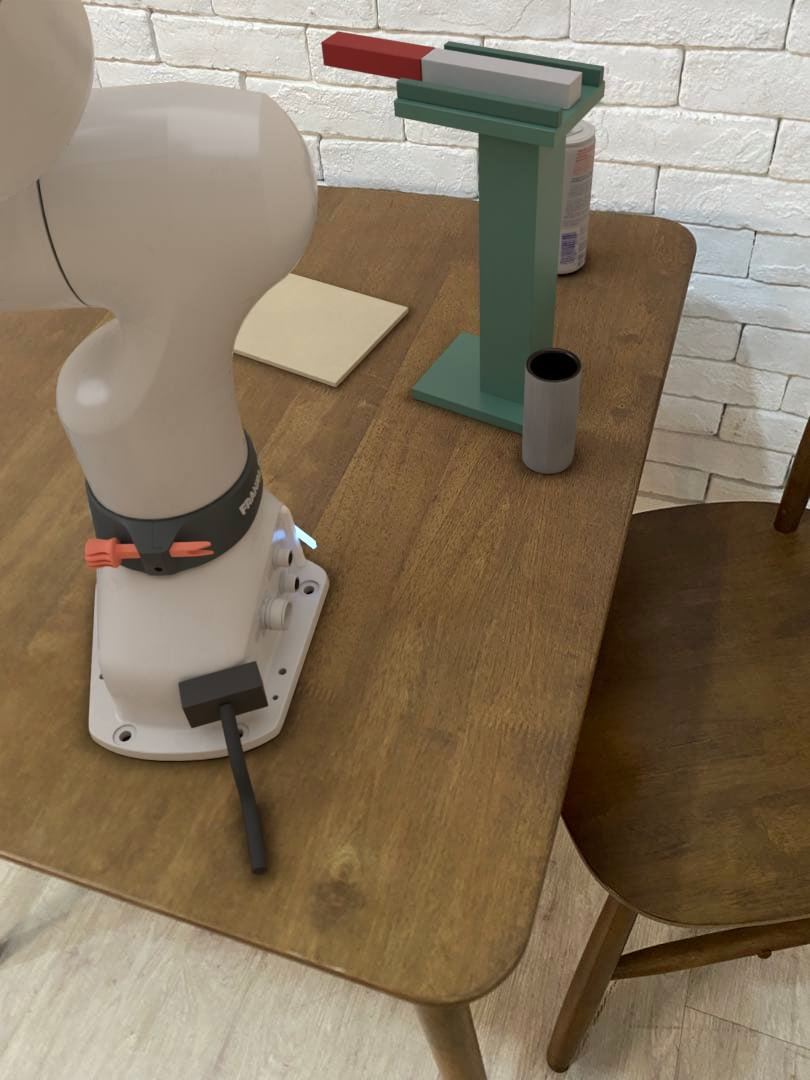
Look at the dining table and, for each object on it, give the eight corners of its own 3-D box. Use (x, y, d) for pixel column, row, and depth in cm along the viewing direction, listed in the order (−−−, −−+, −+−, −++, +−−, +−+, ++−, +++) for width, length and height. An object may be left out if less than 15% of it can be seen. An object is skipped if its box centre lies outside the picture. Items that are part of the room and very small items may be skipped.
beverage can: (584, 249, 105) (595, 115, 94) (585, 277, 102) (597, 141, 90) (534, 249, 106) (539, 116, 95) (533, 277, 102) (539, 142, 91)
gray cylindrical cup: (513, 466, 83) (516, 373, 75) (533, 434, 85) (538, 341, 78) (561, 480, 81) (569, 387, 74) (580, 448, 84) (590, 354, 76)
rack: (580, 376, 90) (610, 60, 69) (535, 439, 85) (552, 117, 63) (461, 341, 95) (454, 35, 74) (412, 398, 90) (388, 86, 68)
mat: (408, 312, 99) (408, 307, 99) (336, 387, 92) (335, 383, 91) (231, 259, 109) (230, 255, 108) (151, 324, 101) (150, 320, 100)
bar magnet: (581, 97, 68) (583, 71, 66) (567, 110, 66) (569, 84, 65) (340, 54, 76) (337, 30, 74) (323, 65, 74) (320, 41, 73)
